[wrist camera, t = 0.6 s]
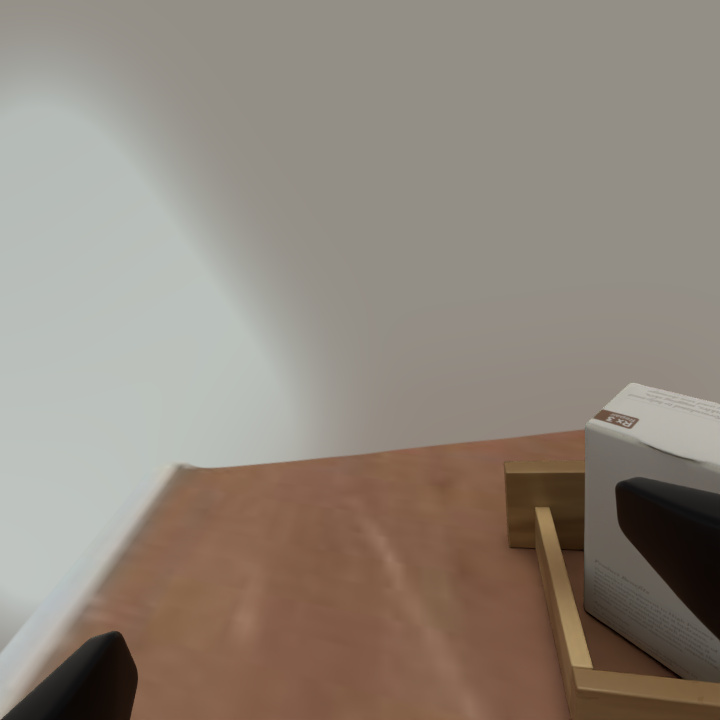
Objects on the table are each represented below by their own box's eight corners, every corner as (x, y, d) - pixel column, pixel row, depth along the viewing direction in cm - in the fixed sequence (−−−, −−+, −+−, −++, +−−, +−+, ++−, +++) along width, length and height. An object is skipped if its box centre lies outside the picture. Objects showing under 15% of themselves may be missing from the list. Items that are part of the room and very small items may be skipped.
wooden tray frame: (943, 790, 14) (1029, 693, 11) (535, 730, 17) (533, 645, 15) (751, 541, 23) (777, 457, 20) (507, 534, 26) (503, 461, 24)
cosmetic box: (758, 639, 19) (836, 421, 14) (725, 719, 16) (803, 494, 12) (614, 558, 23) (633, 374, 18) (573, 611, 21) (582, 419, 16)
